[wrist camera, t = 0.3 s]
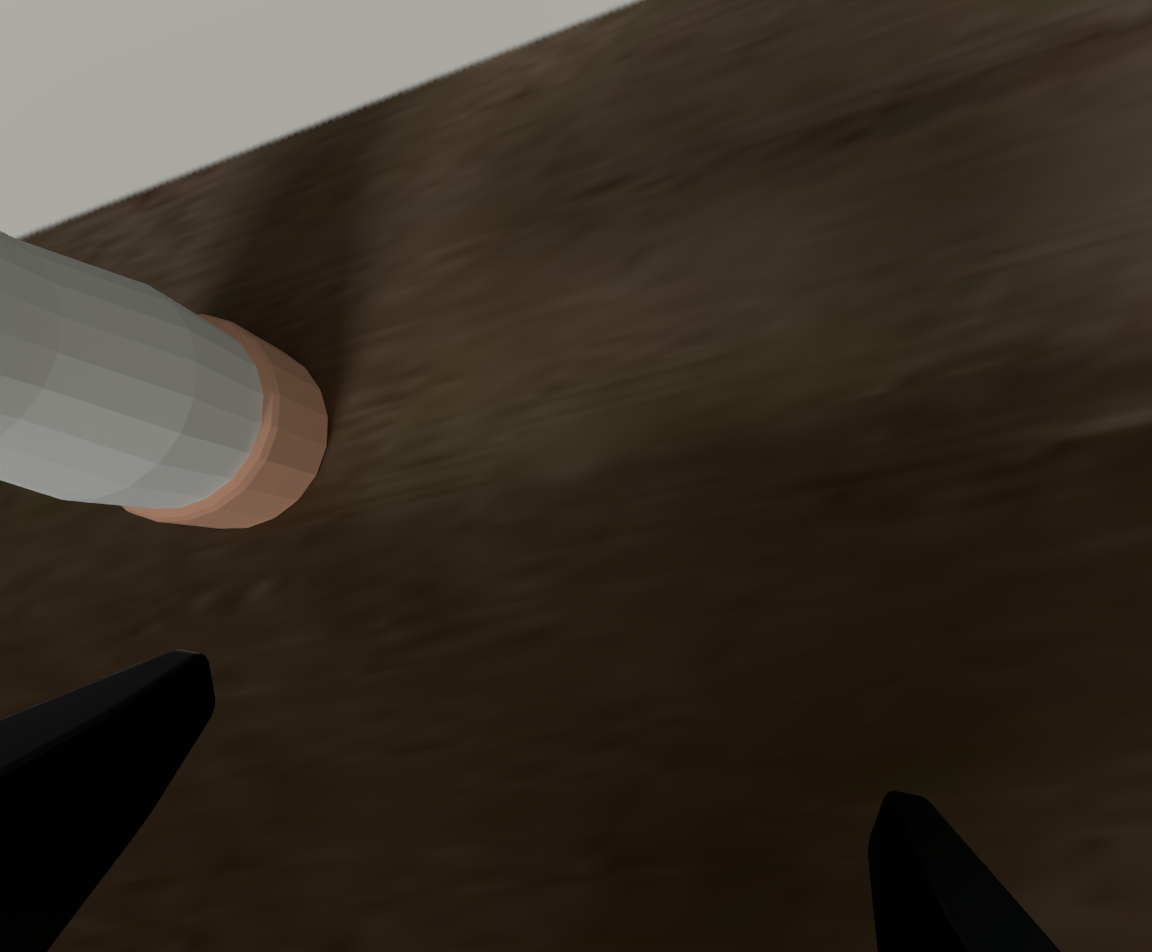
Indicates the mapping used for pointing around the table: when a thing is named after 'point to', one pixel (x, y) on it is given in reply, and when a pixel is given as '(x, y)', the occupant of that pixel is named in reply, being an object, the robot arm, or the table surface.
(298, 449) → the pepper shaker
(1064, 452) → the table surface
